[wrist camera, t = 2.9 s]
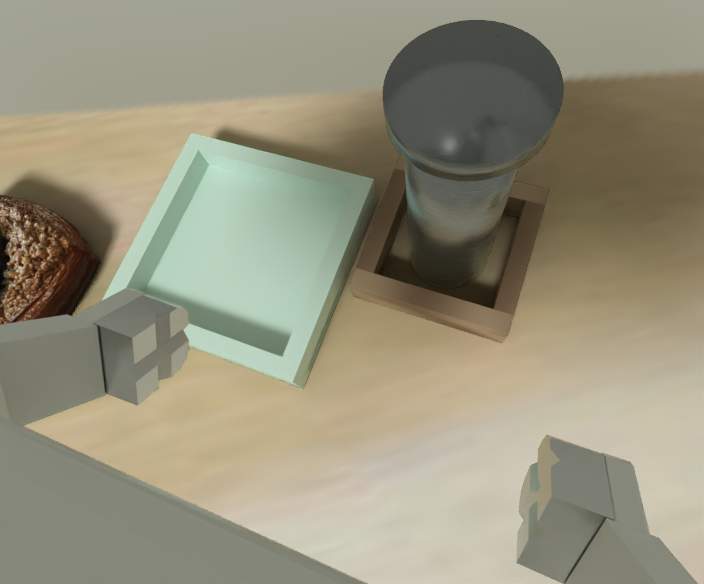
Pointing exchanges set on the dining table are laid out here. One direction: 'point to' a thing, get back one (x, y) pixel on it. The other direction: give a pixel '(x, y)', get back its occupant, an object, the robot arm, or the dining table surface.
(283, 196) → the tray
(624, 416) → the dining table surface
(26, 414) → the robot arm
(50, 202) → the dining table surface
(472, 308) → the socket block
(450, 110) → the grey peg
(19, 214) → the pastry
